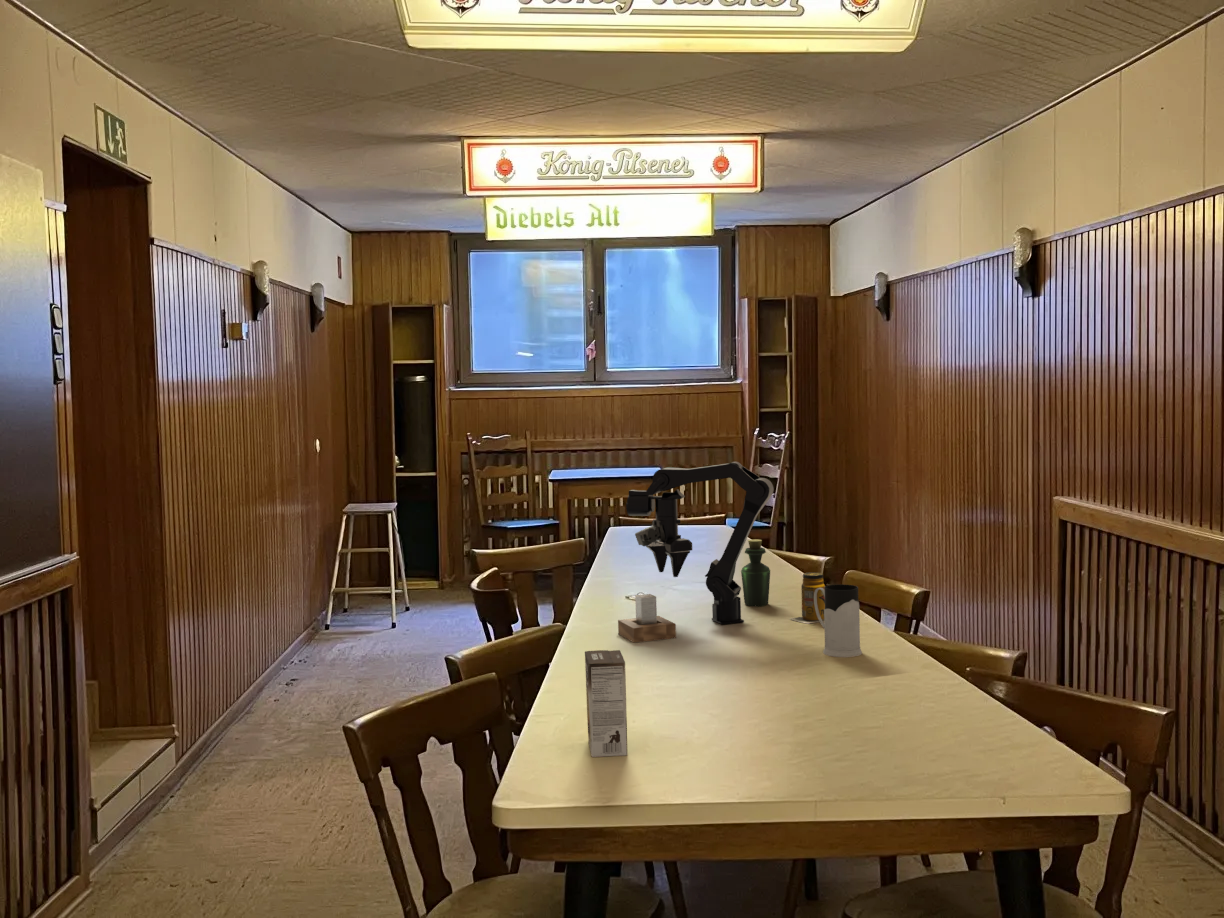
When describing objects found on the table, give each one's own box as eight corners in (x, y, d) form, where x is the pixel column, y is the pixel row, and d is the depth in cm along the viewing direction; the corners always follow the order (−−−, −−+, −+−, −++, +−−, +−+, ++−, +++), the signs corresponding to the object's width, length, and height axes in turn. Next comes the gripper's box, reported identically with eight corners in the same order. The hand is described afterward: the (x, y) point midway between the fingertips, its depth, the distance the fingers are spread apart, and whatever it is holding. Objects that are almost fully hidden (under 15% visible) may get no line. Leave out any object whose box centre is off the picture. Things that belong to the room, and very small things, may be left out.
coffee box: (587, 741, 199) (584, 650, 198) (623, 739, 200) (620, 648, 199) (590, 757, 190) (587, 663, 189) (628, 755, 191) (625, 661, 190)
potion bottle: (770, 601, 321) (769, 538, 320) (771, 607, 313) (770, 542, 312) (741, 601, 322) (740, 538, 321) (742, 607, 314) (740, 542, 313)
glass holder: (839, 659, 252) (838, 592, 251) (800, 646, 265) (799, 583, 264) (870, 653, 256) (869, 587, 255) (830, 642, 269) (829, 579, 268)
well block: (659, 629, 289) (658, 615, 288) (675, 637, 278) (675, 623, 278) (618, 633, 285) (618, 619, 285) (634, 642, 275) (633, 628, 274)
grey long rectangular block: (651, 633, 284) (650, 594, 284) (657, 636, 280) (656, 596, 280) (636, 635, 283) (635, 595, 282) (642, 638, 279) (641, 598, 278)
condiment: (832, 619, 294) (831, 573, 293) (808, 624, 289) (807, 577, 289) (813, 615, 300) (812, 570, 299) (789, 619, 296) (788, 574, 295)
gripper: (624, 514, 304) (626, 572, 305) (652, 521, 287) (654, 582, 288) (662, 511, 308) (664, 568, 309) (692, 518, 291) (694, 578, 292)
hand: (668, 574), depth 300 cm, fingers open, 9 cm apart
